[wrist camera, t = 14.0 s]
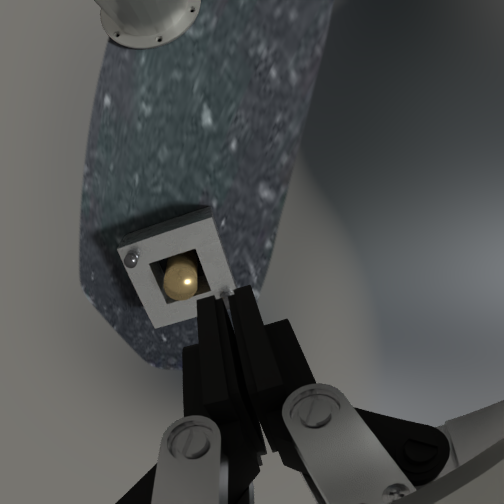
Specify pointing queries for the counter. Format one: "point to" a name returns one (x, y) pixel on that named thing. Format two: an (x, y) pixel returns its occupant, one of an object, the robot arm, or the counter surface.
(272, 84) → the counter surface
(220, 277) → the jig
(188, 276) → the brass cylinder
